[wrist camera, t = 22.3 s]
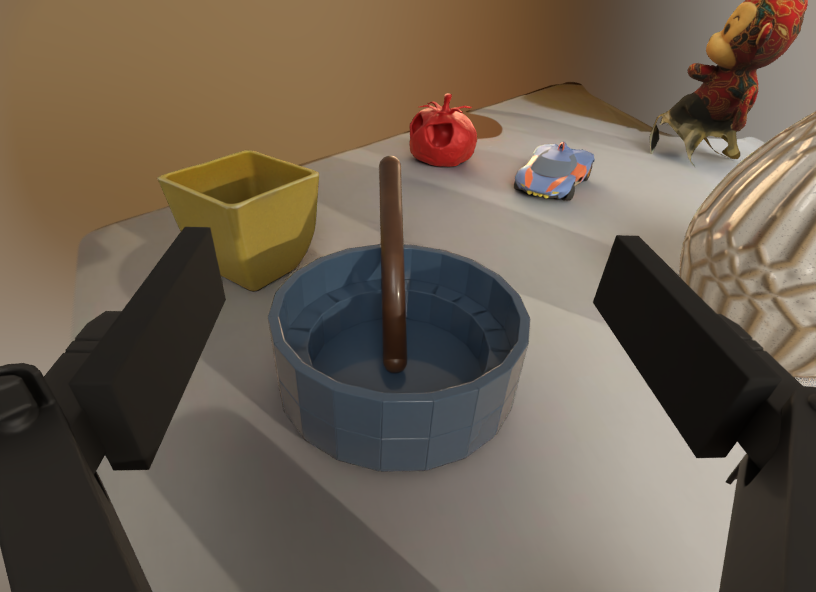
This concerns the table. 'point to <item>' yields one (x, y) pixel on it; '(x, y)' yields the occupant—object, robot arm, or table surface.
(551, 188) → the toy car
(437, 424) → the bowl
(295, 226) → the flower pot
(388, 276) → the stick
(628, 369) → the table surface
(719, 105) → the stuffed monkey
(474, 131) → the pomegranate
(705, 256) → the vase
